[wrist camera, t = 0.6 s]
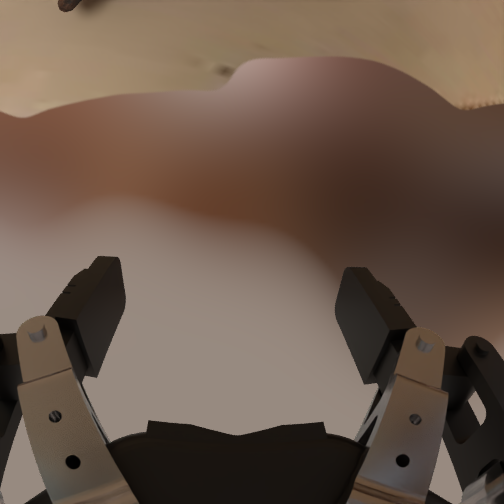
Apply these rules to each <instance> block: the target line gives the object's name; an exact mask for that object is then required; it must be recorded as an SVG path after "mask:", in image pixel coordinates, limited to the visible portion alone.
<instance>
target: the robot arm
mask: <svg viewBox="0 0 504 504" xmlns="http://www.w3.org/2000/svg"><path fill="white" fill-rule="evenodd" d="M125 303H126V296H125V289H124V283H123V276H122V269H121V263H120V260H119V258H118V257H107V256H98V257H97V258H96V259H95V260H94V262H93V263H92V264H91V266H90V267H89V268H88V269H84V270H82V271H81V272H79V273H78V274H76V275H75V276H74V277H73V278H72V279H71V281H70V282H69V283H68V286H66V288H65V289H64V290H63V293H61V294H60V295H59V297H58V298H57V300H56V301H55V302H54V304H53V305H52V307H51V308H50V309H49V311H48V312H47V314H46V315H45V316H36V317H33V318H31V319H29V320H27V321H25V322H24V323H23V324H22V325H21V326H20V327H19V329H18V331H17V333H13V334H0V487H1V482H2V478H3V474H4V471H5V467H6V463H7V460H8V456H9V453H10V450H11V447H12V443H13V440H14V437H15V434H16V431H17V429H18V426H19V423H20V420H21V417H22V415H23V418H24V422H25V426H26V430H27V433H28V437H29V440H30V444H31V447H32V450H33V454H34V456H35V460H36V463H37V465H38V468H39V471H40V474H41V476H42V479H43V482H44V484H45V487H46V489H45V490H44V491H42V492H41V493H39V494H38V495H37V496H35V497H34V498H32V499H31V500H29V501H28V502H26V503H25V504H452V503H450V502H448V501H446V500H445V499H443V498H441V497H440V496H438V495H437V494H435V493H433V492H432V491H430V490H429V486H430V483H431V480H432V476H433V472H434V469H435V465H436V461H437V457H438V452H439V448H440V444H441V439H442V438H443V440H444V443H445V445H446V448H447V450H448V453H449V455H450V458H451V461H452V463H453V466H454V469H455V472H456V474H457V477H458V480H459V483H460V486H461V489H462V492H463V495H462V502H461V503H459V504H504V361H503V359H502V358H501V356H500V355H499V354H498V352H497V351H496V349H495V348H494V347H493V345H492V344H491V343H489V342H488V341H487V340H485V339H483V338H481V337H478V336H470V337H468V338H467V339H466V340H465V342H464V344H463V345H462V347H461V348H456V347H449V346H445V344H444V342H443V340H442V339H441V338H440V337H439V336H438V335H437V334H436V333H434V332H433V331H431V330H428V329H425V328H420V327H416V325H415V324H414V322H413V321H412V320H411V318H410V317H409V315H408V314H407V312H406V311H405V310H404V308H403V307H402V306H400V303H399V301H398V300H397V299H395V296H394V295H393V293H392V292H391V291H390V289H389V288H387V287H386V286H385V285H384V284H382V283H381V282H379V281H377V280H376V279H375V278H374V276H373V275H372V274H371V272H370V271H369V270H368V269H367V268H365V267H347V268H346V269H345V270H344V273H343V276H342V281H341V284H340V288H339V292H338V296H337V299H336V303H335V315H336V320H337V322H338V324H339V326H340V329H341V331H342V333H343V336H344V338H345V340H346V342H347V345H348V347H349V349H350V352H351V354H352V356H353V359H354V361H355V364H356V366H357V368H358V371H359V373H360V376H361V378H362V380H363V383H364V384H372V383H377V384H378V386H379V387H378V389H377V391H376V393H375V395H374V398H373V400H372V402H371V405H370V407H369V410H368V412H367V414H366V416H365V418H364V421H363V423H362V425H361V427H360V429H359V431H358V433H357V435H356V437H355V439H354V440H351V439H349V438H346V437H343V436H339V435H334V434H328V433H326V430H325V426H324V423H323V422H317V423H306V424H292V425H281V426H277V427H273V428H269V429H266V430H262V431H258V432H253V433H249V434H245V435H238V436H237V435H230V434H226V433H222V432H218V431H214V430H210V429H206V428H202V427H199V426H195V425H191V424H178V423H168V422H159V421H150V420H149V421H148V426H147V432H141V433H136V434H131V435H128V436H125V437H122V438H119V439H117V440H114V441H112V442H110V440H109V438H108V436H107V435H106V433H105V431H104V429H103V427H102V425H101V423H100V421H99V419H98V417H97V415H96V413H95V411H94V409H93V407H92V404H91V402H90V400H89V398H88V395H87V393H86V391H85V389H84V386H83V384H82V381H83V379H84V376H90V377H96V378H97V376H98V374H99V371H100V368H101V366H102V363H103V360H104V358H105V355H106V353H107V350H108V348H109V346H110V343H111V341H112V338H113V336H114V333H115V331H116V329H117V326H118V324H119V321H120V319H121V316H122V315H123V312H124V309H125ZM475 391H476V392H477V394H478V395H479V397H480V399H481V400H482V403H483V404H484V406H485V408H486V419H485V421H484V423H483V424H482V425H481V426H480V424H479V422H478V420H477V418H476V416H475V414H474V412H473V410H472V408H471V406H470V404H469V402H468V399H469V398H470V397H471V396H472V395H473V393H474V392H475ZM0 504H5V503H4V501H3V496H2V493H1V491H0Z"/></svg>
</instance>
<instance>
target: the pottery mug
mask: <svg viewBox="0 0 504 504" xmlns="http://www.w3.org/2000/svg"><path fill="white" fill-rule="evenodd" d="M80 1H82V0H59V1H58V6H59V9H60V10H61V11H63V12H68V11H71V10H73V9H74V8H75V7H76V6H77V5H78V4H79V2H80Z"/></svg>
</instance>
